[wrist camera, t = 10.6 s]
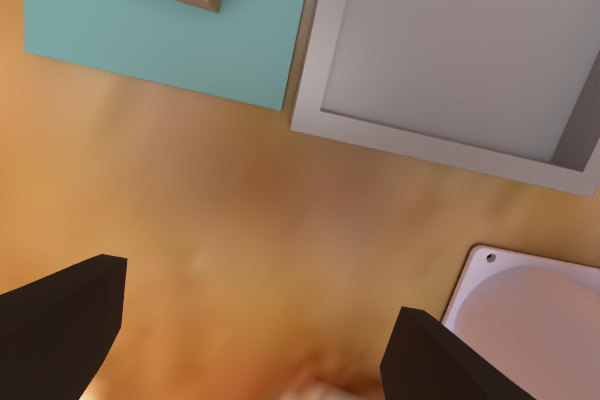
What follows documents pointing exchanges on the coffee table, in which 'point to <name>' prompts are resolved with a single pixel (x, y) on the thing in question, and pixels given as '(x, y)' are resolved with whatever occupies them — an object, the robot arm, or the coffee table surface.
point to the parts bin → (460, 84)
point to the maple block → (204, 4)
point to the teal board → (174, 42)
